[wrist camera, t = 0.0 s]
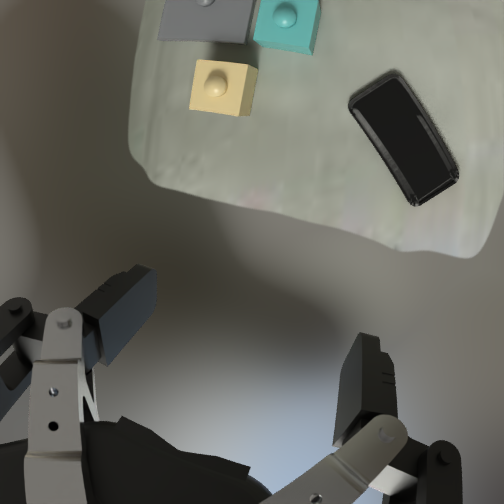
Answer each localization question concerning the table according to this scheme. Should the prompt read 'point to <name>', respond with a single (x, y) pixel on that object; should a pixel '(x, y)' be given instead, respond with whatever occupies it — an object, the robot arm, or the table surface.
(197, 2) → the plate
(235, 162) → the table surface
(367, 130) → the phone
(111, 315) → the robot arm
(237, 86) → the yellow knobbed block
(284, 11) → the teal brick
